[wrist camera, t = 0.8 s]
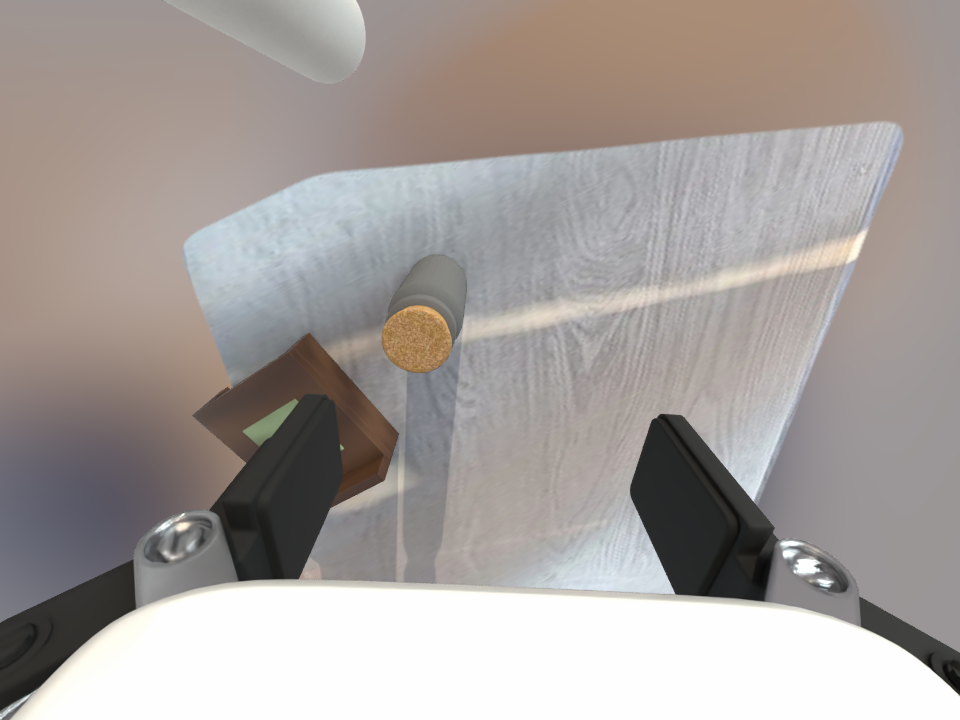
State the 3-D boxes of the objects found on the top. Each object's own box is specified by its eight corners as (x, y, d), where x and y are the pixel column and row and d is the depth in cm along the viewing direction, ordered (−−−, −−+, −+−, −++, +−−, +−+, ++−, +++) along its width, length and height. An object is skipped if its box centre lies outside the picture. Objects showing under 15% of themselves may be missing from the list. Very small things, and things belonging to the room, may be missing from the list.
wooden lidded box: (220, 391, 45) (171, 433, 38) (309, 332, 42) (273, 366, 34) (315, 479, 51) (288, 529, 44) (399, 433, 48) (384, 480, 40)
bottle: (425, 242, 37) (394, 284, 24) (477, 273, 39) (476, 328, 25) (400, 293, 40) (358, 356, 26) (450, 320, 41) (435, 394, 27)
